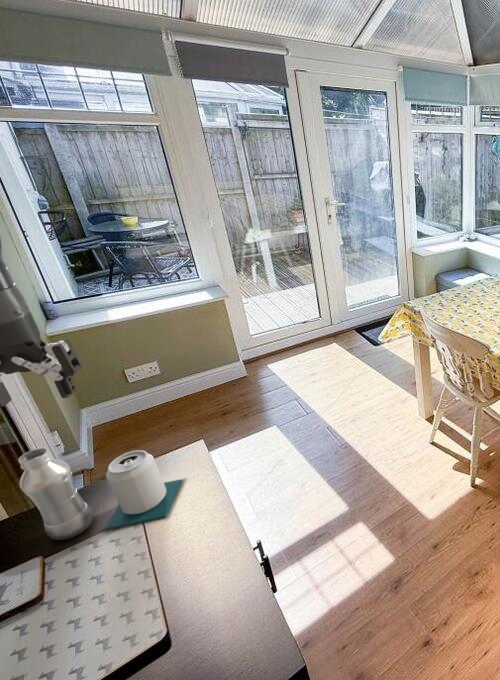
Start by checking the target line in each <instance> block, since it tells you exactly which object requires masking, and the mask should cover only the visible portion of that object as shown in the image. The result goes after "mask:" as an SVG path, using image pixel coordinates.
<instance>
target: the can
mask: <svg viewBox="0 0 500 680" xmlns="http://www.w3.org/2000/svg"><path fill="white" fill-rule="evenodd" d="M105 477H106V480H107V481H108V484H109V485H110V487H111V490H112V492H113V494H114V496H115V497H116V498H115V499H116V500H117V503H118V504H119V505H120V507H121V509H122V511H123V512H124V513H126V514H139V513H143V512H146V511H148V510H150V509H152V508H154V507H155V506H156V505H158V504H159V503H160V501H161V500H162V499H163V498H164V497H165V495H166V487H165V485H164V483H165V482H164V480H163V477H162V475H161V473H160V470H159V468H158V465H157V463H156V460H155V458H154V456H153V455H152V454H150V453H148V452H147V451H145V450H141V449H138V450H131V451H128V452H126V453H123V454H121V455H118V457H116V458H115V459H113V460H112V461H111V462H110V463H109V465H108V466H107V472H106V474H105ZM119 505H118V506H119Z"/></svg>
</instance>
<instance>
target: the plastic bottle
mask: <svg viewBox="0 0 500 680" xmlns="http://www.w3.org/2000/svg"><path fill="white" fill-rule="evenodd" d="M18 463H19V464H20V468H21V469H22V470H24V471H23V473H22V475H21V476H20V479H19V488H20V490H21V491H22V492H23V493H24V494H26V496H27V497H28V498H29V499H30V500H31V501H32V502H33V504H34V505H35V506H36V508H37V510H38V511H39V513H40V516H41V519H42V521H43V527H44V531H45V534H46V535H47V536H48V537H49V538H51V540H56V541H65V540H70V539H72V538H75V537H76V536H78V535H80V534H82V533H83V532H84V531H86V530H88V528H89V527H90V525H91V524H92V522H93V520H94V513H93V509H92V507H90V505H89V504H88V503H86V502H85V501H84V499H83V497H82V496H81V495H80V494H79V492H78V490H77V487H76V485H75V482H74V479H73V473H72V469H71V467H70V465H69V464H68V463H67V462H65V461H63V460H60V459H57V458H53V455H52V453H50V451H49V449H47V447H39V448H35V449H32V450H29V451H27V452H25V453H23V454H22V455H21V456H20V457H19V458H18Z"/></svg>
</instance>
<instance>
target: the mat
mask: <svg viewBox="0 0 500 680" xmlns="http://www.w3.org/2000/svg"><path fill="white" fill-rule="evenodd" d="M182 483H183V479H175V480H171V481H167V482H164V485H165V487H166V495H165V497H164V498H163V499H162V500H161V501H160V503H159V504H158V505H156V506H155V507H154V508H152V509H150V510H148V511H146V512H143V513H139V514H126V513H124V512H123V511H122V509H121V507H120V505H118V507H117V508H116V510H115V512H114V514H113V515H112V517H111V519H110V520H109V522H108V523H107V525H106V527H105V530H106V531H110V530H115V529H120V528H124V527H128V526H133V525H137V524H143V523H146V522H147V523H148V522H150V521H156V520H161V519H163V518H164V519H165V518H167V515H168V514H169V511H170V509H171V507H172V504H173V502H174V501H175V498H176V496H177V494H178V492H179V489H180V487H181V486H182Z"/></svg>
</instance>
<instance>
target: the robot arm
mask: <svg viewBox="0 0 500 680" xmlns="http://www.w3.org/2000/svg"><path fill="white" fill-rule="evenodd" d="M29 307H30V306H29V305H28V303H27V301H26V298H25V297H24V295H23V293H22V292H21V291H20V289H19V288H18V286H17V285H16V283H15V281H14V279H13V277H12V275H11V273H10V270H9V268H8V267H7V265H6V262H5V261H4V259H3V246H2V239H1V236H0V379H1V378H2V376H3V375H4V374H5V375H11V374H15V373H30V372H31V371H32V372H34V373H36V374H37V375H39V376H40V375H41V376H43V375H44V376H47V377H49V378H50V379H52V380H54V381H53V382H54V385H55V387H56V389H57V391H58V393H59V395H60V397H61V398H62V399H66V398H71V396H72V395H73V394H74V392H75V391H76V389H77V386H76V383H75V381H74V379H73V377H72V376H74V375H75V374H76V373H78V372H79V371H80V370H81V369H82V368H83V364H82V362H81V361H80V359H79V356H78V354H77V353H76V351H75V349H74V347H73V345H72V343H71V342H70V340H68V339H66V338H63V339H60V341H58V342H52V343H47V342H45V341H43V339H42V338H41V330H40V329H39V327H38V324H37V322H36V320H35V318H34V315H33V314H32V312H31V310H30V308H29ZM48 353H50V354H51V355H50V354H48ZM42 363H45V365H42ZM11 401H12V397H11V395H10V393H9V391H8V389H7V388H6V386H5V383H4V382H3V381H0V408H1V407H6V406H7V405H8V404H9V403H11Z"/></svg>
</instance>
